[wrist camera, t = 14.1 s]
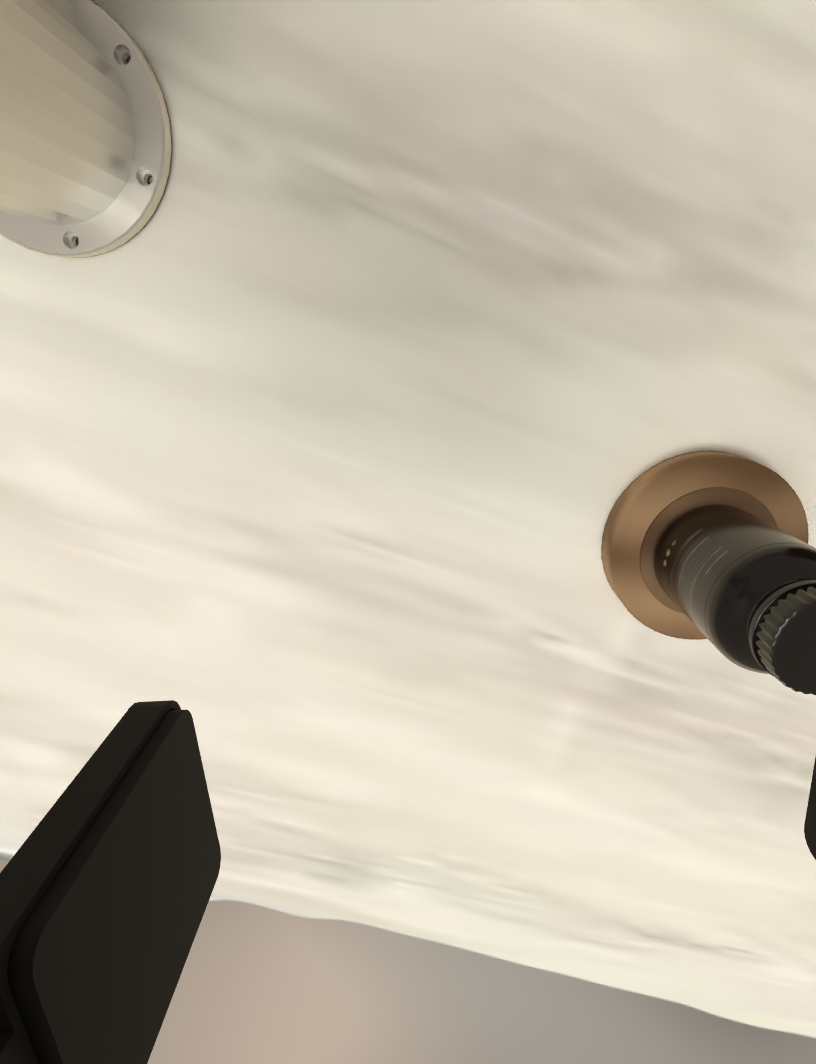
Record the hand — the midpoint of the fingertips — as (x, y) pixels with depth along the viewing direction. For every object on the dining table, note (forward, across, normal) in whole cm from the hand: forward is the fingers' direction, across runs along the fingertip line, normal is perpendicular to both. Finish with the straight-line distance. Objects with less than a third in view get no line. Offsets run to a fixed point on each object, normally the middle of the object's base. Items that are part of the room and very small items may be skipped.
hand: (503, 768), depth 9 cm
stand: (+30, -16, +8) cm, 35 cm away
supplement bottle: (+28, -16, +8) cm, 33 cm away
